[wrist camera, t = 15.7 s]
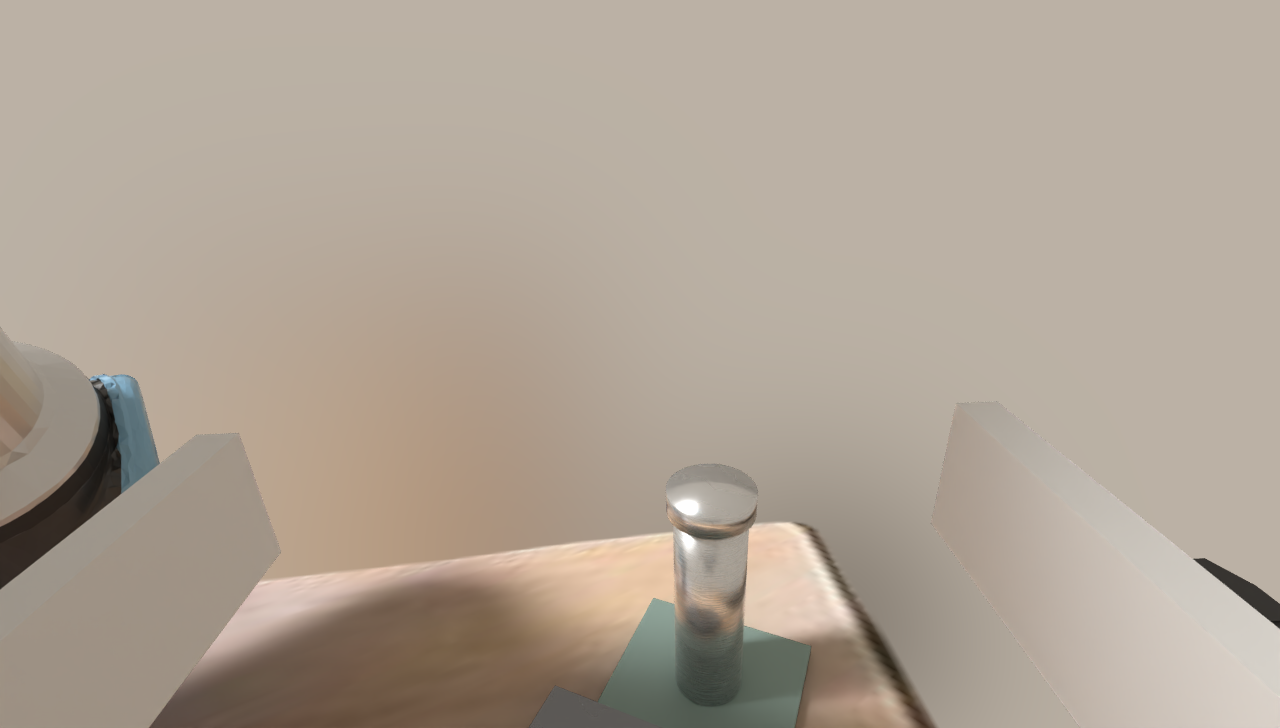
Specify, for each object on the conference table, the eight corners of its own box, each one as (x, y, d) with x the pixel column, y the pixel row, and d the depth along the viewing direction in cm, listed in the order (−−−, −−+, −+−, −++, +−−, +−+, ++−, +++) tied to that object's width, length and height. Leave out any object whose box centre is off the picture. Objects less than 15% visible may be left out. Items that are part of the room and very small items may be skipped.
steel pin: (657, 695, 39) (652, 504, 33) (684, 635, 43) (683, 457, 37) (735, 724, 37) (745, 526, 31) (755, 658, 41) (766, 473, 35)
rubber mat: (594, 715, 38) (593, 709, 38) (653, 603, 46) (653, 597, 46) (781, 791, 34) (782, 784, 33) (810, 652, 42) (811, 646, 42)
